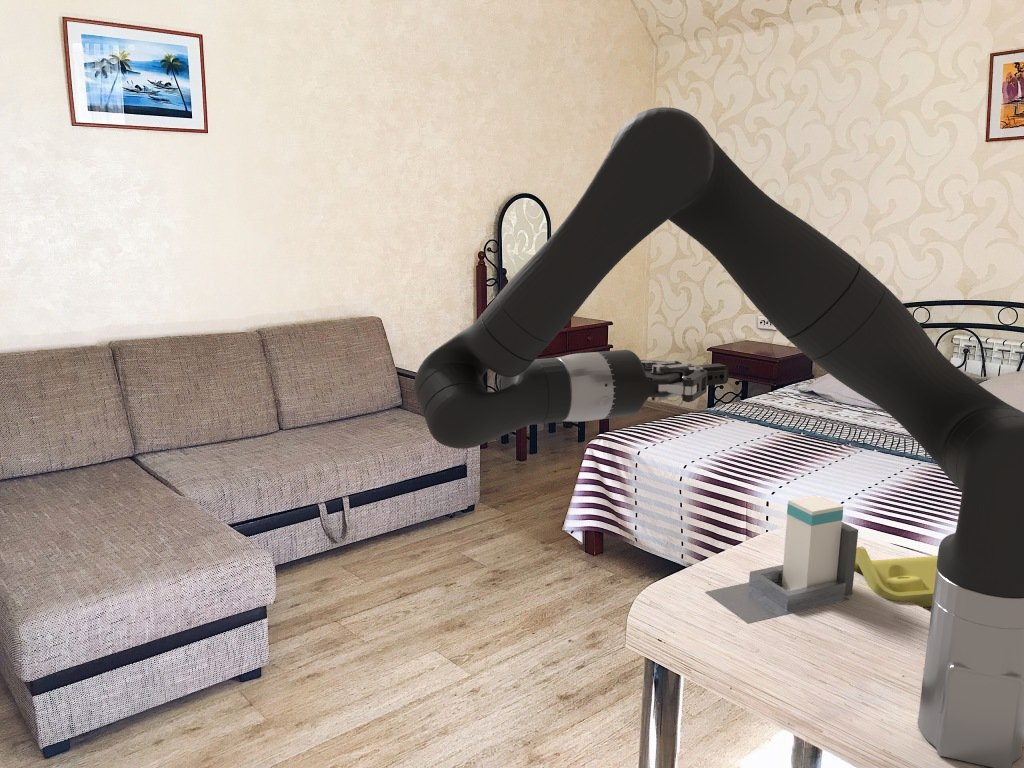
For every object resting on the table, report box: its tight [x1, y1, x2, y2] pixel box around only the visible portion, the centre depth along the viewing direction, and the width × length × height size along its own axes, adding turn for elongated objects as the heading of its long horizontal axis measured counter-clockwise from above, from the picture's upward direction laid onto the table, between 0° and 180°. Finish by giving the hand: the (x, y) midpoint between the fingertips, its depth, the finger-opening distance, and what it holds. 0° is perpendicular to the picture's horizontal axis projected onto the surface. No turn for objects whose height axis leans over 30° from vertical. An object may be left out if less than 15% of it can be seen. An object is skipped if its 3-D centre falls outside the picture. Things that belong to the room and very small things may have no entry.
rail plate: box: [704, 564, 850, 624], centre depth 110 cm, size 16×9×4 cm, turn 113°
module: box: [782, 494, 844, 590], centre depth 111 cm, size 5×5×12 cm
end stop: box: [836, 521, 859, 597], centre depth 113 cm, size 2×7×10 cm, turn 22°
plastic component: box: [854, 546, 938, 608], centre depth 115 cm, size 20×7×10 cm
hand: (724, 373), depth 100 cm, fingers closed
